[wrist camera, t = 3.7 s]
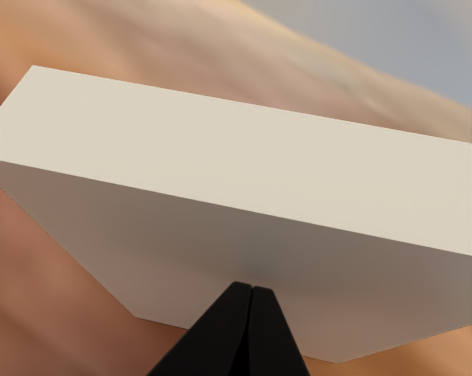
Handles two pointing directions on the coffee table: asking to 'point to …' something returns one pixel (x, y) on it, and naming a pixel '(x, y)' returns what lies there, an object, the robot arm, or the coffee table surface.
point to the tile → (245, 208)
